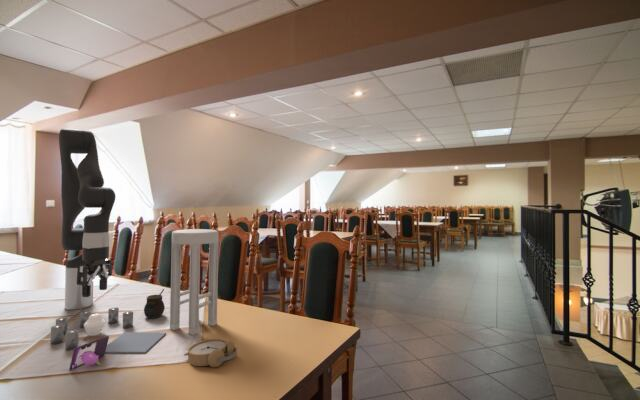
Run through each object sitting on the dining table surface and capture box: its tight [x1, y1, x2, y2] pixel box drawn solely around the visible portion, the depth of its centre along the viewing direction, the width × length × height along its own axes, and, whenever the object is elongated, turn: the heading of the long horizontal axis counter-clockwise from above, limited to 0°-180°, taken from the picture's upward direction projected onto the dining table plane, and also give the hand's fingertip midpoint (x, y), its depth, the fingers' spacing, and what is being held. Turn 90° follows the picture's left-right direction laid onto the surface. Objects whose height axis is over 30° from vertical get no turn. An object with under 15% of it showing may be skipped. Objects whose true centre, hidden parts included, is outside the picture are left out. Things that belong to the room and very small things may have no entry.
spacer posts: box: [50, 307, 134, 351], centre depth 110 cm, size 24×22×5 cm
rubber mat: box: [105, 332, 167, 354], centre depth 103 cm, size 14×14×1 cm
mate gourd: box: [143, 288, 166, 319], centre depth 127 cm, size 7×8×10 cm
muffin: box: [83, 313, 107, 337], centre depth 110 cm, size 6×6×7 cm
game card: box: [68, 335, 110, 371], centre depth 90 cm, size 7×5×9 cm
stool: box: [169, 228, 220, 336], centre depth 118 cm, size 16×16×35 cm
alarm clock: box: [183, 338, 238, 368], centre depth 94 cm, size 11×5×15 cm
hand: (95, 293), depth 110 cm, fingers open, 8 cm apart
